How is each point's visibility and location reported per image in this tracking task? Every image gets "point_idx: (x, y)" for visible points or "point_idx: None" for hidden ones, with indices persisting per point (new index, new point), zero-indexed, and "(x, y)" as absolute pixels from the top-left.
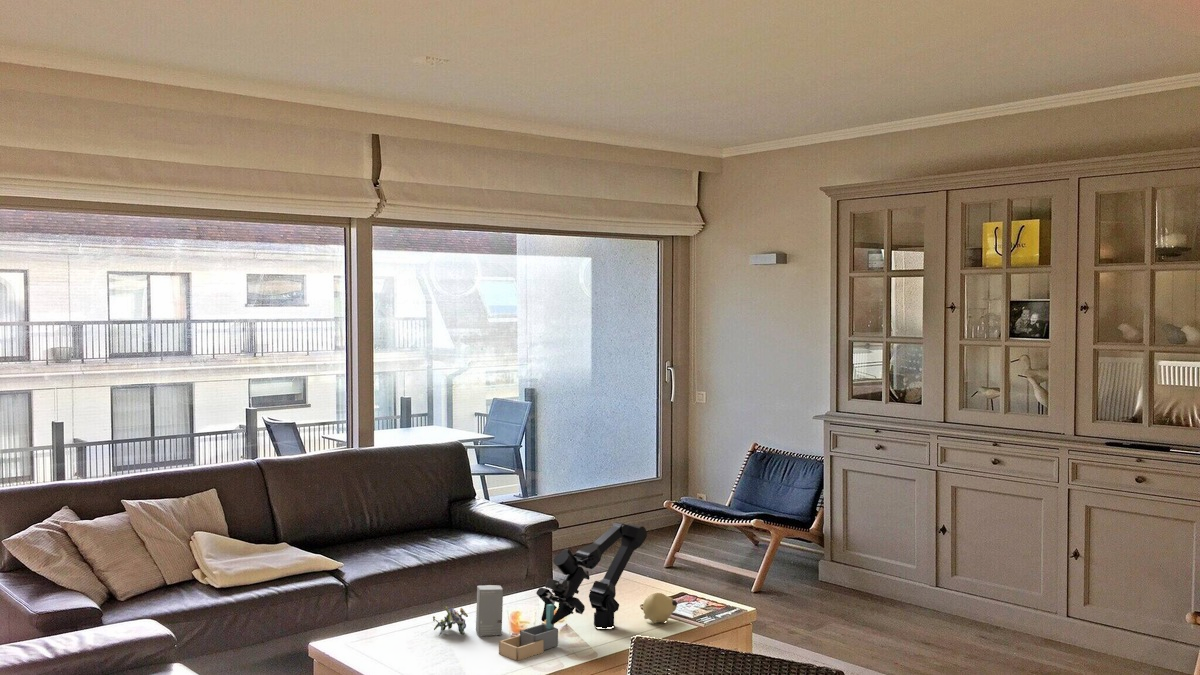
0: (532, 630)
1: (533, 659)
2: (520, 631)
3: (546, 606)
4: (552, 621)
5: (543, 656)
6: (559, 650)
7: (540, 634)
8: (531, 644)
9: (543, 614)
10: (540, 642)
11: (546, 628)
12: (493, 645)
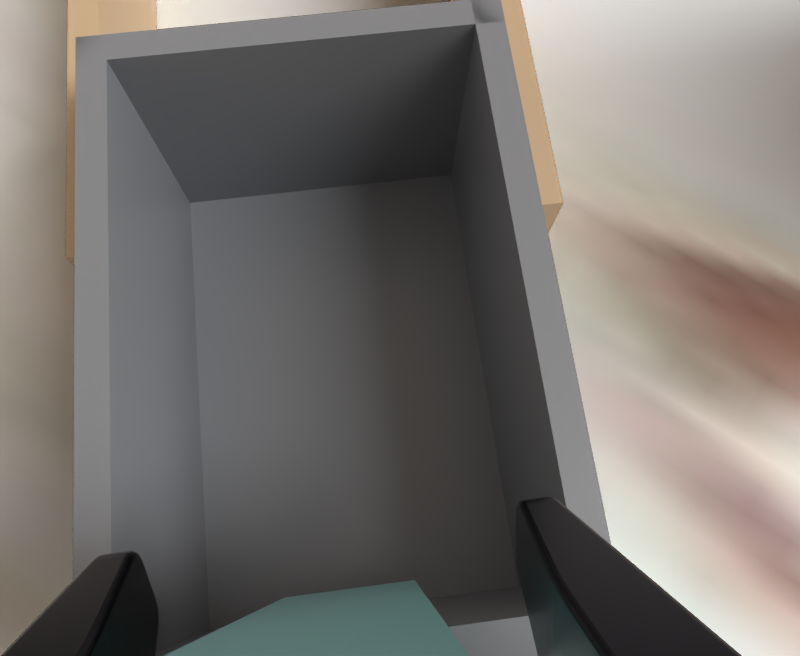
0: (511, 295)
1: (41, 99)
2: (484, 8)
3: (447, 649)
4: (61, 594)
5: (31, 247)
6: (50, 573)
7: (77, 178)
8: (72, 24)
9: (620, 602)
10: (74, 201)
11: (453, 618)
12: (746, 3)
